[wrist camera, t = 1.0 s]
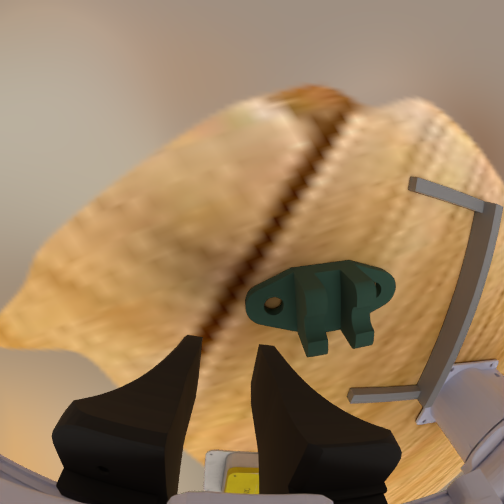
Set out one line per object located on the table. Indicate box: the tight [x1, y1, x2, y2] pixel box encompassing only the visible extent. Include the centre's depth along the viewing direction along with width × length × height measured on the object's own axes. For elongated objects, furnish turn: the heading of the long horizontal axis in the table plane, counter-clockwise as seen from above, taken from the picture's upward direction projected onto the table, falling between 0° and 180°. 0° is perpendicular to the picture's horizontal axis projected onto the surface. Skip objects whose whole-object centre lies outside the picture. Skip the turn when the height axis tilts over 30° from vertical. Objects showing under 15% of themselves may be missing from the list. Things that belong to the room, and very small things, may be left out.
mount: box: [245, 260, 396, 357], centre depth 19 cm, size 11×4×5 cm, turn 96°
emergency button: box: [204, 450, 259, 494], centre depth 25 cm, size 9×4×15 cm
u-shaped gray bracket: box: [347, 177, 503, 408], centre depth 21 cm, size 8×19×2 cm, turn 171°
